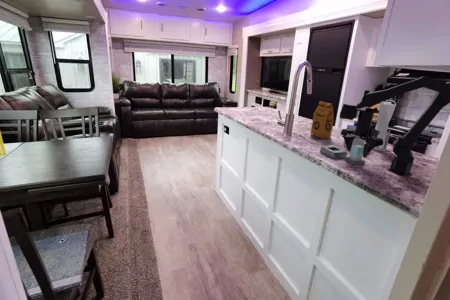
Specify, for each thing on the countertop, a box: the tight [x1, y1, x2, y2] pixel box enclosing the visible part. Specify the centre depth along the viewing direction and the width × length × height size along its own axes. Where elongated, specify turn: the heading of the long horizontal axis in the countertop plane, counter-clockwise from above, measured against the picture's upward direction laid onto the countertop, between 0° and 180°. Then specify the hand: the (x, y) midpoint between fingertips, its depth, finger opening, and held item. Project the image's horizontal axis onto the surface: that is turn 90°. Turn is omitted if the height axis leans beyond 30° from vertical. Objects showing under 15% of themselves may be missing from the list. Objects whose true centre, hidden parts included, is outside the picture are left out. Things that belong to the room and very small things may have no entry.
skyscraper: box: [371, 99, 397, 152], centre depth 128 cm, size 8×8×28 cm
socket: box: [319, 144, 349, 159], centre depth 120 cm, size 10×8×3 cm
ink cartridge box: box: [343, 120, 366, 148], centre depth 133 cm, size 10×6×14 cm, turn 72°
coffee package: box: [310, 100, 335, 139], centre depth 149 cm, size 10×12×22 cm
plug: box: [348, 145, 364, 161], centre depth 110 cm, size 4×4×8 cm
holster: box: [343, 156, 366, 166], centre depth 111 cm, size 6×6×2 cm
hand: (356, 154), depth 110 cm, fingers open, 9 cm apart
